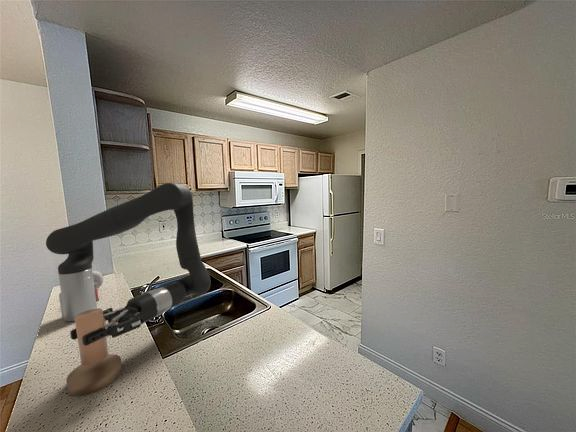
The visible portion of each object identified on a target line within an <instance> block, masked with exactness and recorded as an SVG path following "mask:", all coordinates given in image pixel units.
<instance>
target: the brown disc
mask: <svg viewBox="0 0 576 432" xmlns="http://www.w3.org/2000/svg"><path fill="white" fill-rule="evenodd" d="M122 370H123V366H122V358H121V356H120V355H118V354H113V353H111V354H109V353H108V355H107V357H106V358H104V359H103V360H101V361H100V362H98V363H95V364H92V365H88V366H83V365H82V364H81V363H80V365H78V366H76V367H75V368H74V369H73V370H71V372H70V373H69V374H68V375H67V377H66V388H67V393H68V394H69V395H70V396H73V397H81V396H82V397H83V396H87V395H91V394H93V393H97V392H98V391H100V390H102V389H103V388H107V387H108V386H109V385H111V383H113V382H114V381H115V380H116V379H118V378H119V376H120V375H121V373H122Z"/></svg>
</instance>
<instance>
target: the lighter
mask: <svg viewBox="0 0 576 432" xmlns="http://www.w3.org/2000/svg"><path fill="white" fill-rule="evenodd" d="M93 280H94V281H95V279H94V278H93ZM94 288H95V296H96V303H97V302H99V301H100V297H99V292H98V289H97V283H96V282H94Z"/></svg>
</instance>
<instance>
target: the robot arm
mask: <svg viewBox="0 0 576 432" xmlns="http://www.w3.org/2000/svg"><path fill="white" fill-rule="evenodd" d="M193 199H194V198H193V194H192V191H191V190H190V188H189V187H188V186H186V185H184V184H180V183H176V182H166V183H163V184H160V185H158V186H157V187H155V188H153V189H151V190H150V191H147V192H146V193H145V194H142V195H141V196H138V197H135V198H132V199H130V200H128V201H125V202H123V203H120V204H117V205H114V206H113V207H112V206H111V207H110V208H107V209H106V210H103V211H101V212H99V213H97V214H95V215H93V216H91V217H88V218H86V219H84V220H82V221H80V222H77V223H75V224H72V225H68V226H66V227H62V228H57V229H55V230H53V231H51V233H50V234H49V235H47V238H46V240H45V245H46V248H47V250H49V251H50V253H53V254H56V255H67V257H66V259H65V260H64V261H63V262H61V263H60V264H59V265H58V267H57V272H58V280H59V288H60V293H59V294H58V297H59V304H60V312H61V319H63V320H64V321H65V322H75V316H76V315H78V314H80V313H82V312H84V311H87V310H91V309H98V307H97V302H96V296H95V288H94V280H93V272H92V271H93V261H94V242H93V241H97V240H101V239H105V238H108V237H109V238H110V237H112V236H116V235H119V234H121V233H122V234H123V233H125V232H128V231H129V230H132V229H134V228H136V227H138V226H139V225H140V224H141V223H143V222H144V221H145V220H146V219H147V218H149V217H151V216H153V215H156V214H159V213H162V212H167V211H173V212H174V215H175V217H176V218H175V219H176V223H177V227H176V228H177V230H176V240H175V248H176V254H177V257H178V263H179V266H180V268H181V269H183V270H186V271H188V273H189V274H188V275H187V274H186V275H185V276H183V277H180V278H178V279H177V280H176V281H174V282H172V283H168V284H166V285H164V286H162V287H161V286H160V287H159V288H154V289H151V290H149V291H146V292H145V293H142V294H140V295H137V296H135V297H132V298H130V299H129V300H128V301H127V302H126V305H125V306H124V307H120V308H117V309H115V310H113V307H109V308H106V309H105V310H103V317H104V325H105V326H104V327H103V328H104V329H103V328H99V329H97V330H95V331H92V332H90V333H88V334H86V335H84V336H83V337H82V341H83V345H85V346H87V345H89V344H91V343H93V342H95V341H97V340H99V339H101V338H103V337H106V338H109V337H111V338H112V339H113V338H116V337H119V336H122V335H124V334H127V333H129V332H131V331H134V330H136V329H139V328H140V327H141V325H143V324H144V323H146V322H149V321H150V320H153V319H154V318H156V317H158V316H161V315H162V314H165V313H166V312H167V311H168V310H170V309H172V308H174V307H175V306H176V307H177V306H178V305H180V304H182V302H184V301H185V299H186V298H187V297H190V296H196V295H204V294H207V293H208V292H209V290H210V288H211V283H212V281H211V279H212V278H211V275H210V273H209V272H208V271H209V270H207V268H206V266H205V264H204V262H203V261H202V259H201V258H202V257H201V252H200V249H199V245H198V240H197V234H196V227H195V219H194V218H195V217H194V216H195V215H194V214H195V213H194V201H193ZM69 334H70V335H69V336H70V339H71V340H78V339H77V332H76V327H75V328H73V329H72V330H70V332H69Z"/></svg>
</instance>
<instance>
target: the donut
mask: <svg viewBox="0 0 576 432" xmlns="http://www.w3.org/2000/svg"><path fill="white" fill-rule="evenodd" d="M92 272H93V278H94V279H95V281H94V282H96V283H97V290H98V289H99V288H100V287H102V285H103V283H104V277H103V274H102V273H101V272H99V271H98V270H92Z"/></svg>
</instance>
